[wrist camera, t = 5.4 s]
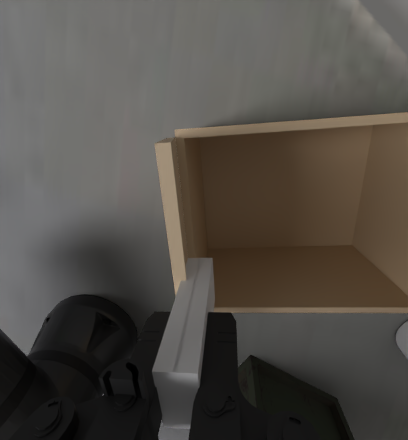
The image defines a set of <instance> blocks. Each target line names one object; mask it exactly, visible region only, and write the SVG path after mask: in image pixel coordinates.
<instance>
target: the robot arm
mask: <svg viewBox="0 0 408 440" xmlns="http://www.w3.org/2000/svg"><path fill="white" fill-rule="evenodd" d="M214 303H215V290H214V274H213V258H188V260H187V263H186V280H183V281H181V282H180V285H179V288H178V291H177V294H176V297H175V300H174V304H173V307H172V310H171V312H154V313H153V314H152V315H151V316H150V317H149V318H148V319H147V321H146V323H145V325H144V328H143V330H142V333H141V335H140V337H139V341H138V342H137V331H136V328H135V326H134V323H133V322H132V320H131V319H130V317H129V316H128V315H127V314H126V313H125V312H124V311H123V310H122V309H121V308H119V307H118V306H116V305H115V304H113V303H111V302H109V301H107V300H105V299H102V298H99V297H94V296H87V295H79V296H73V297H69V298H67V299H64V300H63V301H61V302H60V303H59V304H58V305H57V306H56V307H55V308H54V309H53V310H52V311H51V312H50V313H49V314H48V316H47V317H46V319H45V320H44V323H43V325H42V328H41V330H40V332H39V334H38V336H37V338H36V340H35V342H34V344H33V346H32V349H31V351H30V353H29V354H28V356H26V355H25V354H24V353H23V352H22V351H21V350H20V349H19V348H18V347H17V346H16V345H15V344H14V343H13V341H12V340H11V339H10V338H9V337H8V336H7V335H6V334H5V333H4V332H3V331H2V330H1V329H0V440H159V439H158V432H159V428H160V424H161V420H162V422H163V427H164V428H177V429H190V433H189V440H321V439H320V436H319V434H318V433H317V431H316V430H315V429H314V427H313V426H312V424H311V423H310V422H309V421H308V420H307V419H305V418H304V417H303V416H302V415H300V414H297V413H295V412H293V411H280V412H278V413H276V414H274V415H271V414H269V413H267V412H265V411H262V410H260V409H258V408H256V407H255V406H253V405H252V404H250V403H249V402H248V401H247V400H246V398H245V397H244V396H243V394H242V392H241V390H240V387H239V382H238V360H237V332H236V321H235V319H234V317H233V315H232V313H231V312H214ZM136 343H137V344H136ZM103 393H104V395H103V396H102V394H103Z"/></svg>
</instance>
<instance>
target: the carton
mask: <svg viewBox="0 0 408 440" xmlns="http://www.w3.org/2000/svg"><path fill="white" fill-rule="evenodd" d="M175 138H176V148H177V157H178V166H179V176H180V185H181V194H182V204H183V213H184V223H185V232H186V241H187V251H188V258H213V274H214V290H215V303H214V312H231V313H408V112H404V113H391V114H378V115H364V116H351V117H338V118H325V119H311V120H298V121H285V122H271V123H258V124H245V125H232V126H218V127H205V128H192V129H178V130H175Z"/></svg>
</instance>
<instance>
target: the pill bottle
mask: <svg viewBox="0 0 408 440" xmlns="http://www.w3.org/2000/svg"><path fill="white" fill-rule="evenodd" d="M396 343H397V345H398V347H399V349H400V350H401V352H402V353H403V354H404V355H405V357H406V358H407V359H408V321H407V322H405V323H404V324H403V325H402V326H401V327H400V328H399V329H398V331H397V333H396Z"/></svg>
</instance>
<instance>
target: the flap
mask: <svg viewBox="0 0 408 440" xmlns="http://www.w3.org/2000/svg"><path fill="white" fill-rule="evenodd" d="M155 151H156V158H157V165H158V172H159V179H160V187H161V194H162V201H163V208H164V216H165V223H166V230H167V237H168V245H169V252H170V259H171V266H172V274H173V281H174V288H175V295H176V294H177V291H178V288H179V285H180V282H181V281H183V280H186V263H187V260H188V253H187V244H186V234H185V225H184V216H183V206H182V197H181V188H180V178H179V169H178V160H177V150H176V141H175V138H166V139H163V140H161V141H159V142H157V143H155Z"/></svg>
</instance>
